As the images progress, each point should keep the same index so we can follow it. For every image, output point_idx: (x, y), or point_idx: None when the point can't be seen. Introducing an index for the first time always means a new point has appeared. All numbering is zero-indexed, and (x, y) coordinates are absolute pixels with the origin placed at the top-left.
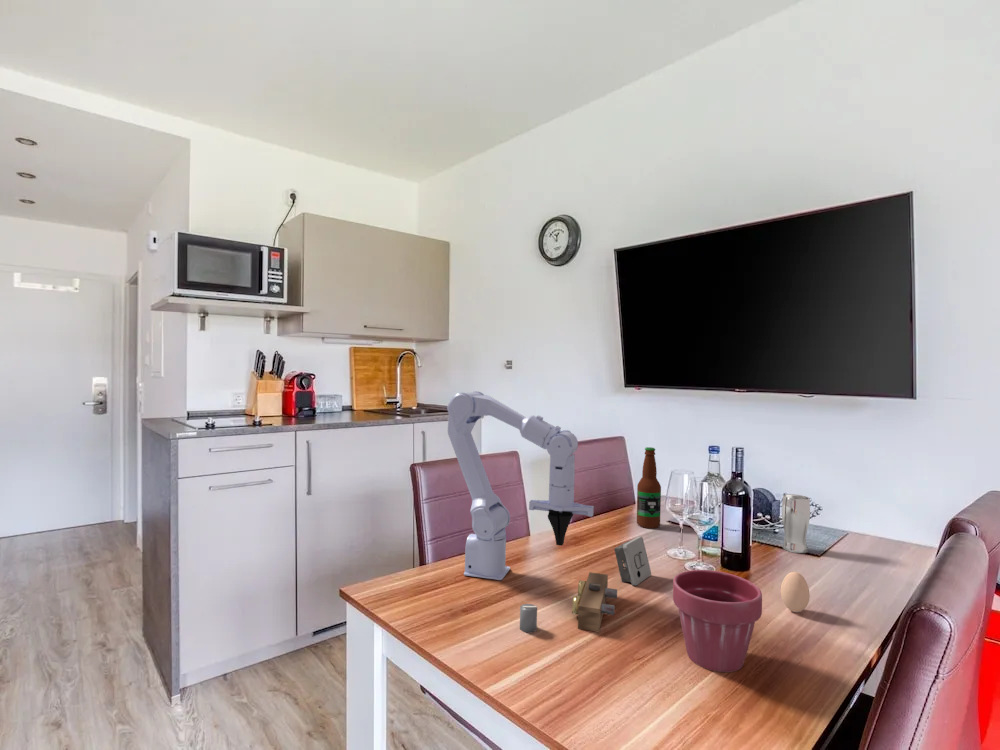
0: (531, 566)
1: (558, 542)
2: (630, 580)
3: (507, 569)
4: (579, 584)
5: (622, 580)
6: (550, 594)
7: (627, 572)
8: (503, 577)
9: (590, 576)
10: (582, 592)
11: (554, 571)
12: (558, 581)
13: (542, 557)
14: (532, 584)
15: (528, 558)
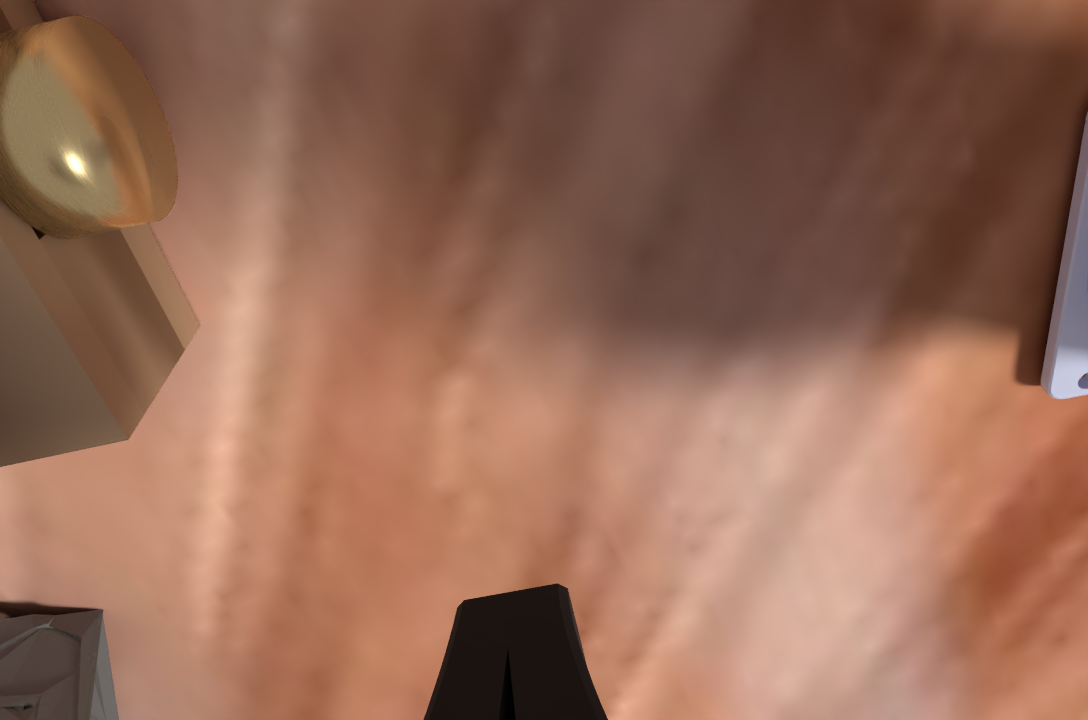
0: (863, 518)
1: (519, 624)
2: (6, 628)
3: (1068, 336)
4: (36, 80)
5: (90, 617)
6: (487, 51)
7: (7, 683)
8: (1081, 159)
9: (28, 331)
10: (11, 31)
11: (654, 526)
12: (546, 376)
13: (821, 676)
14: (749, 190)
15: (921, 621)
